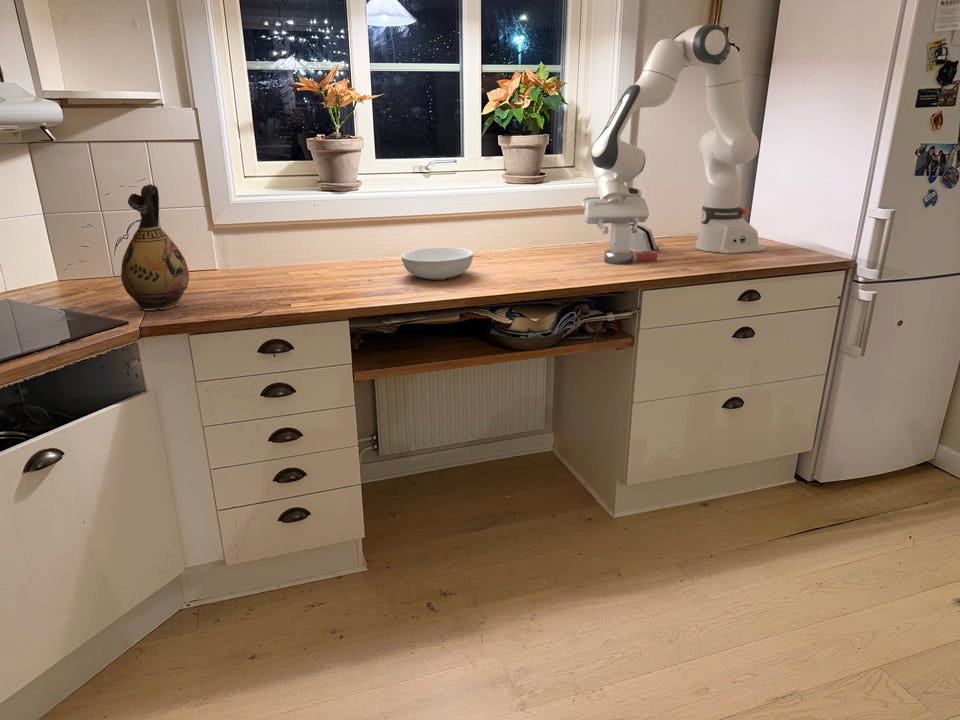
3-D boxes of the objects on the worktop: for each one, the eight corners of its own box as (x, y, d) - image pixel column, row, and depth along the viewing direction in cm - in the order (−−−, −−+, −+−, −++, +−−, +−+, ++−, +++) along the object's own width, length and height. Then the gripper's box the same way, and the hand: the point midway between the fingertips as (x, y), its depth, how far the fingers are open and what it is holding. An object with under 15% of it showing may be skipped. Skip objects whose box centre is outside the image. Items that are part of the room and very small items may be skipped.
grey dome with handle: (650, 257, 221) (651, 234, 219) (660, 262, 213) (662, 239, 210) (600, 259, 220) (601, 235, 217) (608, 265, 211) (610, 240, 209)
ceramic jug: (182, 313, 167) (160, 188, 157) (117, 315, 166) (91, 190, 156) (203, 295, 183) (185, 181, 173) (144, 297, 182) (122, 182, 171)
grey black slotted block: (660, 251, 230) (654, 224, 226) (650, 257, 229) (644, 230, 224) (627, 243, 244) (621, 217, 239) (617, 249, 243) (611, 223, 238)
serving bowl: (432, 265, 214) (431, 244, 212) (487, 273, 203) (487, 250, 200) (387, 279, 198) (386, 255, 196) (444, 288, 187) (443, 263, 185)
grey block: (624, 250, 217) (626, 222, 214) (629, 253, 213) (631, 224, 210) (609, 250, 217) (611, 222, 214) (614, 253, 212) (615, 224, 209)
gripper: (583, 191, 214) (590, 227, 209) (645, 189, 217) (654, 225, 211) (578, 204, 220) (585, 239, 214) (640, 202, 222) (648, 237, 217)
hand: (620, 232), depth 213 cm, fingers open, 8 cm apart
